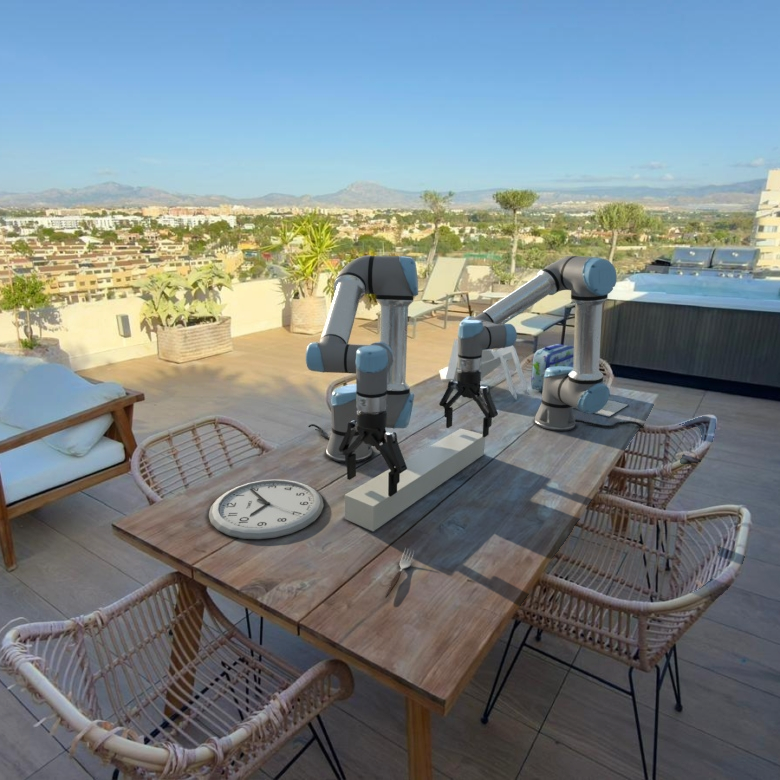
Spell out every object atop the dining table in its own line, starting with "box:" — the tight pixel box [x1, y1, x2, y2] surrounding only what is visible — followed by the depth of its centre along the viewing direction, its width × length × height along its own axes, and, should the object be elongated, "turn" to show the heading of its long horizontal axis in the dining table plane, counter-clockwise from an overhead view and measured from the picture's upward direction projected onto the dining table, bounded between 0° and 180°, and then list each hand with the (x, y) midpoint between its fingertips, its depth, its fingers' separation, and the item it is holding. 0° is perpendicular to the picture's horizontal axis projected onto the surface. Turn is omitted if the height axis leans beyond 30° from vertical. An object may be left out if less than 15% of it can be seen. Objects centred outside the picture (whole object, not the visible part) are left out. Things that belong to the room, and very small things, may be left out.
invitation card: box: [595, 399, 629, 418], centre depth 226 cm, size 21×1×15 cm
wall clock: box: [208, 478, 324, 540], centre depth 141 cm, size 30×2×30 cm
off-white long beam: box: [344, 428, 486, 532], centre depth 155 cm, size 60×10×7 cm, turn 143°
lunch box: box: [530, 343, 574, 392], centre depth 248 cm, size 26×11×21 cm, turn 134°
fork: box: [385, 547, 415, 599], centre depth 114 cm, size 3×16×2 cm, turn 160°
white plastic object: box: [438, 338, 531, 400], centre depth 245 cm, size 37×45×31 cm
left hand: (371, 485), depth 135 cm, fingers open, 13 cm apart
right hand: (466, 431), depth 173 cm, fingers open, 13 cm apart
